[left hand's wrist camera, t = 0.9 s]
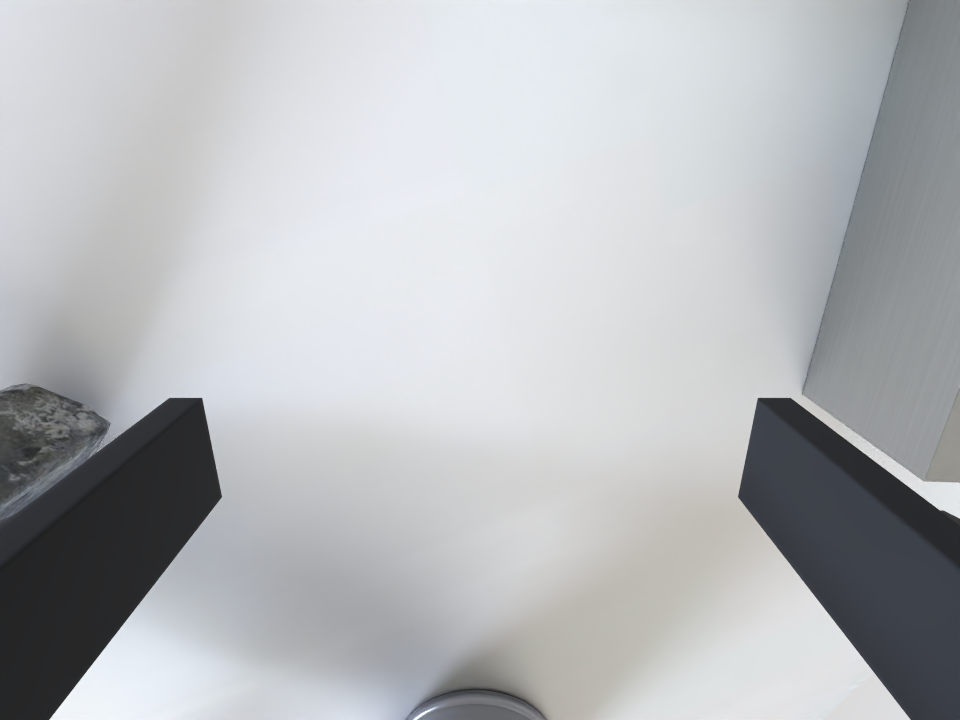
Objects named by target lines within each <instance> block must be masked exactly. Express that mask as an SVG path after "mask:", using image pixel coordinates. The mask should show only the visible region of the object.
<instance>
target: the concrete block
mask: <svg viewBox="0 0 960 720" xmlns="http://www.w3.org/2000/svg"><path fill="white" fill-rule="evenodd" d="M110 424H111V423H109V422H108V421H106V420H105V419H103V418H102V417H100V416H99V415H98V414H97V413H95V412H94V411H93V410H92V409H91V408H89V407H88V406H86V405H84V404H82V403H79V402H75V401H73V400H70V399H68V398H66V397H63V396H60V395H58V394H55V393H53V392H50V391H48V390H45V389H43V388H41V387H38V386H34V385H30V384H21V385H14V386H11V387H8V388H6V389H3V390H1V391H0V521H1V520H3V519H5V518H7V517H9V516H11V515H13V514H15V513H18V512H19V511H20V510H22V509H23V508H24V507H26V506H27V505H28V504H30V503H31V502H32V501H34V500H35V499H36V498H38V497H39V496H40V495H42V494H43V493H44V492H46V491H47V490H48V489H50V488H51V487H52V486H54V485H55V484H56V483H58V482H59V481H60V480H61V479H63V478H64V477H65V476H67V475H68V474H69V473H71V472H72V471H73V470H75V469H76V468H77V467H79V466H80V465H81V464H83V463H84V462H85V461H87V460H88V459H89V458H91V457H92V456H93V455H94V454H95V453H96V451H97V450H98V446H99V444H100V442H101V441H102V440H103V438H104V436H105V435H106V433H107V432H108V429H109V426H110Z"/></svg>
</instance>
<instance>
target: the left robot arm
mask: <svg viewBox="0 0 960 720" xmlns="http://www.w3.org/2000/svg"><path fill="white" fill-rule="evenodd" d="M221 498H222V495H221V490H220V485H219V480H218V475H217V470H216V465H215V460H214V455H213V450H212V445H211V440H210V435H209V430H208V425H207V420H206V415H205V410H204V405H203V400H202V398H169V399H168V400H166V401H165V402H164V403H162V404H161V405H160V406H158V407H157V408H156V409H154V410H153V411H152V412H150V413H149V414H148V415H146V416H145V417H144V418H142V419H141V420H140V421H138V422H137V423H136V424H134V425H133V426H132V427H131V428H129V429H128V430H127V431H125V432H124V433H123V434H121V435H120V436H119V437H117V438H116V439H115V440H113V441H112V442H111V443H109V444H108V445H107V446H105V447H104V448H103V449H101V450H100V451H99V452H97V453H96V454H95V455H93V456H92V457H91V458H89V459H88V460H87V461H85V462H84V463H83V464H81V465H80V466H79V467H77V468H76V469H75V470H73V471H72V472H71V473H69V474H68V475H67V476H65V477H64V478H63V479H61V480H60V481H59V482H58V483H56V484H55V485H54V486H52V487H51V488H50V489H48V490H47V491H46V492H44V493H43V494H42V495H40V496H39V497H38V498H36V499H35V500H34V501H32V502H31V503H30V504H28V505H27V506H26V507H24V508H23V509H22V510H20V511H19V512H18V513H15V514H13V515H11V516H9V517H7V518H5V519H3V520H1V521H0V720H49V719H50V718H51V717H52V715H53V714H54V713H55V712H56V710H57V709H58V708H59V706H60V705H61V704H62V703H63V701H64V700H65V699H66V697H67V696H68V695H69V693H70V692H71V691H72V690H73V688H74V687H75V686H76V684H77V683H78V682H79V681H80V679H81V678H82V677H83V675H84V674H85V673H86V672H87V670H88V669H89V668H90V666H91V665H92V664H93V663H94V661H95V660H96V659H97V657H98V656H99V655H100V654H101V652H102V651H103V650H104V648H105V647H106V646H107V644H108V643H109V642H110V641H111V639H112V638H113V637H114V635H115V634H116V633H117V632H118V630H119V629H120V628H121V626H122V625H123V624H124V623H125V621H126V620H127V619H128V617H129V616H130V615H131V614H132V612H133V611H134V610H135V608H136V607H137V606H138V605H139V603H140V602H141V601H142V599H143V598H144V597H145V595H146V594H147V593H148V592H149V590H150V589H151V588H152V586H153V585H154V584H155V583H156V581H157V580H158V579H159V577H160V576H161V575H162V574H163V572H164V571H165V570H166V568H167V567H168V566H169V565H170V563H171V562H172V561H173V559H174V558H175V557H176V556H177V554H178V553H179V552H180V550H181V549H182V548H183V546H184V545H185V544H186V543H187V541H188V540H189V539H190V537H191V536H192V535H193V534H194V532H195V531H196V530H197V528H198V527H199V526H200V525H201V523H202V522H203V521H204V519H205V518H206V517H207V516H208V514H209V513H210V512H211V510H212V509H213V508H214V507H215V505H216V504H217V503H218V501H219V500H220V499H221ZM738 498H739V499H740V500H741V501H742V503H743V504H744V505H745V507H746V508H747V509H748V510H749V512H750V513H751V514H752V516H753V517H754V518H755V519H756V521H757V522H758V523H759V525H760V526H761V527H762V528H763V530H764V531H765V532H766V534H767V535H768V536H769V537H770V539H771V540H772V541H773V543H774V544H775V545H776V546H777V548H778V549H779V550H780V552H781V553H782V554H783V556H784V557H785V558H786V559H787V561H788V562H789V563H790V565H791V566H792V567H793V568H794V570H795V571H796V572H797V574H798V575H799V576H800V577H801V579H802V580H803V581H804V583H805V584H806V585H807V586H808V588H809V589H810V590H811V592H812V593H813V594H814V595H815V597H816V598H817V599H818V601H819V602H820V603H821V605H822V606H823V607H824V608H825V610H826V611H827V612H828V614H829V615H830V616H831V617H832V619H833V620H834V621H835V623H836V624H837V625H838V626H839V628H840V629H841V630H842V632H843V633H844V634H845V635H846V637H847V638H848V639H849V641H850V642H851V643H852V644H853V646H854V647H855V648H856V650H857V651H858V652H859V654H860V655H861V656H862V657H863V659H864V660H865V661H866V663H867V664H868V665H869V666H870V668H871V669H872V670H873V672H874V673H875V674H876V675H877V677H878V678H879V679H880V681H881V682H882V683H883V684H884V686H885V687H886V688H887V690H888V691H889V692H890V693H891V695H892V696H893V697H894V699H895V700H896V701H897V703H898V704H899V705H900V706H901V708H902V709H903V710H904V711H905V713H906V714H907V715H908V717H909V718H910V719H911V720H960V519H959V518H957V517H955V516H953V515H951V514H949V513H947V512H945V511H940V510H938V509H937V508H936V507H934V506H933V505H932V504H930V503H929V502H928V501H926V500H925V499H924V498H922V497H921V496H920V495H918V494H917V493H916V492H914V491H913V490H912V489H910V488H909V487H908V486H906V485H905V484H904V483H902V482H901V481H900V480H899V479H897V478H896V477H895V476H893V475H892V474H891V473H889V472H888V471H887V470H885V469H884V468H883V467H881V466H880V465H879V464H877V463H876V462H875V461H873V460H872V459H871V458H869V457H868V456H867V455H865V454H864V453H863V452H861V451H860V450H859V449H857V448H856V447H855V446H853V445H852V444H851V443H849V442H848V441H847V440H845V439H844V438H843V437H841V436H840V435H839V434H837V433H836V432H835V431H833V430H832V429H831V428H829V427H828V426H827V425H826V424H824V423H823V422H822V421H820V420H819V419H818V418H816V417H815V416H814V415H812V414H811V413H810V412H808V411H807V410H806V409H804V408H803V407H802V406H800V405H799V404H798V403H796V402H795V401H794V400H792V399H791V398H758V400H757V405H756V410H755V415H754V420H753V425H752V430H751V435H750V440H749V445H748V450H747V455H746V460H745V465H744V470H743V475H742V480H741V485H740V490H739V495H738ZM406 720H545V719H544V717H543V716H542V715H541V714H540V713H539V712H538V711H537V710H536V709H534V708H533V707H532V706H530V705H529V704H527V703H525V702H524V701H522V700H520V699H518V698H515V697H512V696H510V695H506V694H503V693H499V692H494V691H486V690H466V691H458V692H452V693H448V694H444V695H441V696H438V697H436V698H433V699H431V700H429V701H427V702H426V703H424V704H422V705H421V706H419V707H418V708H417V709H415V710H414V711H413V712H412V713H411V714H410V715H409V716H408V718H407V719H406Z"/></svg>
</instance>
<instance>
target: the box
mask: <svg viewBox="0 0 960 720" xmlns="http://www.w3.org/2000/svg"><path fill="white" fill-rule="evenodd" d="M802 394H803V395H804V396H805V397H807V398H808V399H810V400H811V401H812V402H814V403H815V404H817V405H818V406H819V407H821V408H822V409H824V410H825V411H826V412H828V413H829V414H831V415H832V416H833V417H835V418H836V419H838V420H839V421H840V422H842V423H843V424H845V425H846V426H847V427H849V428H850V429H852V430H853V431H854V432H856V433H857V434H859V435H860V436H861V437H863V438H864V439H866V440H867V441H868V442H870V443H871V444H873V445H874V446H875V447H877V448H878V449H879V450H881V451H882V452H884V453H885V454H886V455H888V456H889V457H891V458H892V459H893V460H895V461H896V462H898V463H899V464H900V465H902V466H903V467H905V468H906V469H907V470H909V471H910V472H912V473H913V474H914V475H916V476H917V477H919V478H920V479H921V480H923V481H931V482H960V0H910V1H909V5H908V9H907V12H906V16H905V20H904V23H903V27H902V31H901V34H900V38H899V42H898V45H897V49H896V53H895V56H894V60H893V64H892V67H891V71H890V75H889V78H888V82H887V86H886V89H885V93H884V97H883V100H882V104H881V108H880V111H879V115H878V119H877V122H876V126H875V130H874V133H873V137H872V141H871V144H870V148H869V151H868V155H867V159H866V162H865V166H864V170H863V173H862V177H861V181H860V184H859V188H858V192H857V195H856V199H855V203H854V206H853V210H852V214H851V217H850V221H849V225H848V228H847V232H846V236H845V239H844V243H843V247H842V250H841V254H840V258H839V261H838V265H837V269H836V272H835V276H834V280H833V283H832V287H831V291H830V294H829V298H828V302H827V305H826V309H825V313H824V316H823V320H822V324H821V327H820V331H819V335H818V338H817V342H816V346H815V349H814V353H813V357H812V360H811V364H810V368H809V371H808V375H807V379H806V382H805V386H804V390H803V393H802Z"/></svg>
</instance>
